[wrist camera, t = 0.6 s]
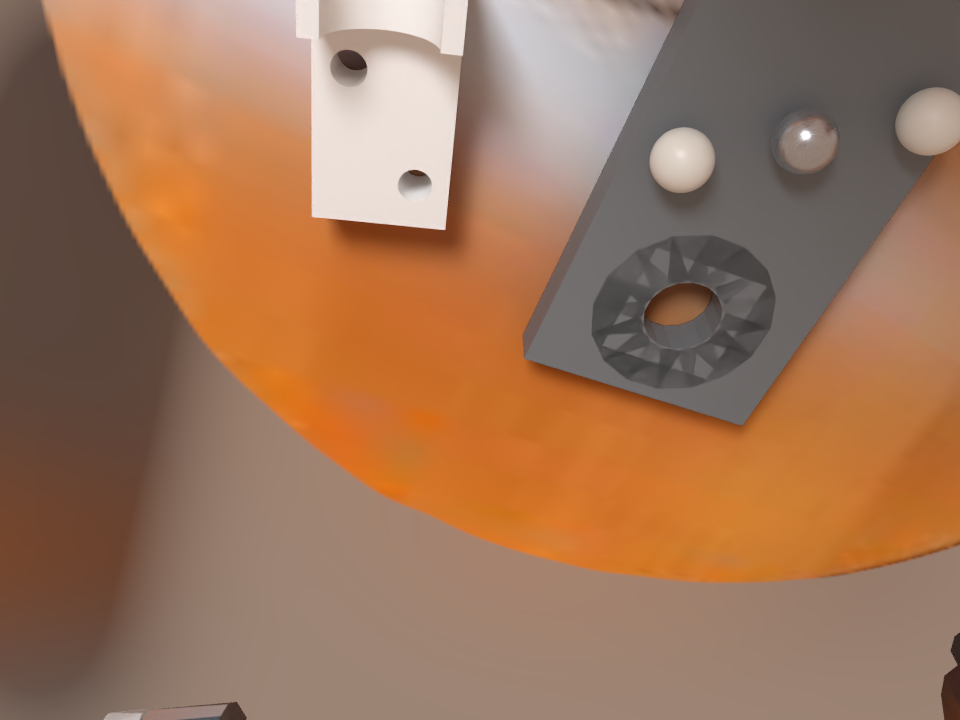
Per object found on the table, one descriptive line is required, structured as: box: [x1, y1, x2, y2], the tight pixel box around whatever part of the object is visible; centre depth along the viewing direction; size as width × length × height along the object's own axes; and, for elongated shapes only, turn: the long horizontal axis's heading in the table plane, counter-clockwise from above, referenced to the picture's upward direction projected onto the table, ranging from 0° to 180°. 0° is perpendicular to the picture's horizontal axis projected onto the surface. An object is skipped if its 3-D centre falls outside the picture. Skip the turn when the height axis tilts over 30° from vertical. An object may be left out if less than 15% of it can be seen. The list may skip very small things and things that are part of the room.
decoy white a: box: [895, 87, 960, 156], centre depth 42 cm, size 3×3×3 cm
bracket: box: [296, 0, 468, 230], centre depth 42 cm, size 13×7×8 cm, turn 174°
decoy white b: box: [649, 127, 715, 193], centre depth 43 cm, size 3×3×3 cm
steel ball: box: [771, 108, 840, 175], centre depth 43 cm, size 3×3×3 cm
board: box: [523, 0, 960, 426], centre depth 48 cm, size 26×15×2 cm, turn 159°
